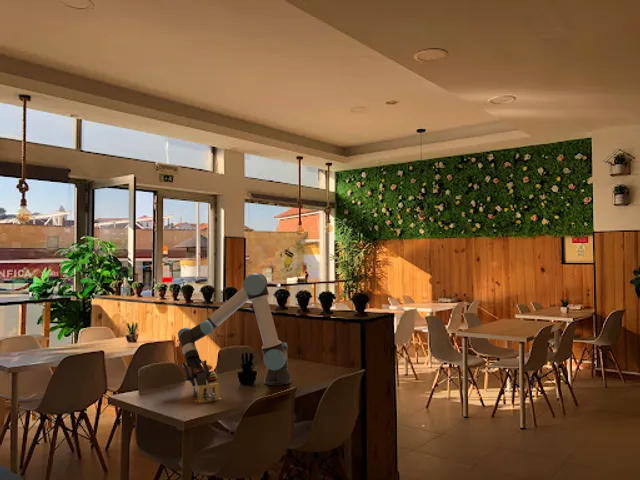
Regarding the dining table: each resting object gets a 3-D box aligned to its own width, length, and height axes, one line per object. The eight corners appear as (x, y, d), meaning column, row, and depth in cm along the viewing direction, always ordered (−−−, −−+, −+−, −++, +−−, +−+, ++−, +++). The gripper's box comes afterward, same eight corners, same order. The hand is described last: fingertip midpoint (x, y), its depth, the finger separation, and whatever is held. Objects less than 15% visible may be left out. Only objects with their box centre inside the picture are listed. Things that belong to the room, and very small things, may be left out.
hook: (202, 394, 285) (202, 371, 286) (218, 402, 268) (218, 377, 269) (193, 395, 282) (193, 372, 283) (209, 403, 265) (209, 379, 266)
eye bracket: (216, 397, 279) (216, 382, 279) (221, 399, 274) (221, 384, 274) (194, 400, 272) (194, 385, 272) (199, 403, 267) (199, 387, 267)
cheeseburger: (217, 381, 316) (213, 364, 316) (199, 386, 314) (195, 369, 314) (217, 377, 326) (213, 361, 326) (199, 382, 324) (195, 366, 324)
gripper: (204, 356, 300) (216, 391, 286) (172, 359, 290) (183, 396, 276) (208, 347, 296) (221, 383, 282) (176, 350, 286) (187, 388, 272)
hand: (202, 389), depth 279 cm, fingers closed on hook, 5 cm apart
